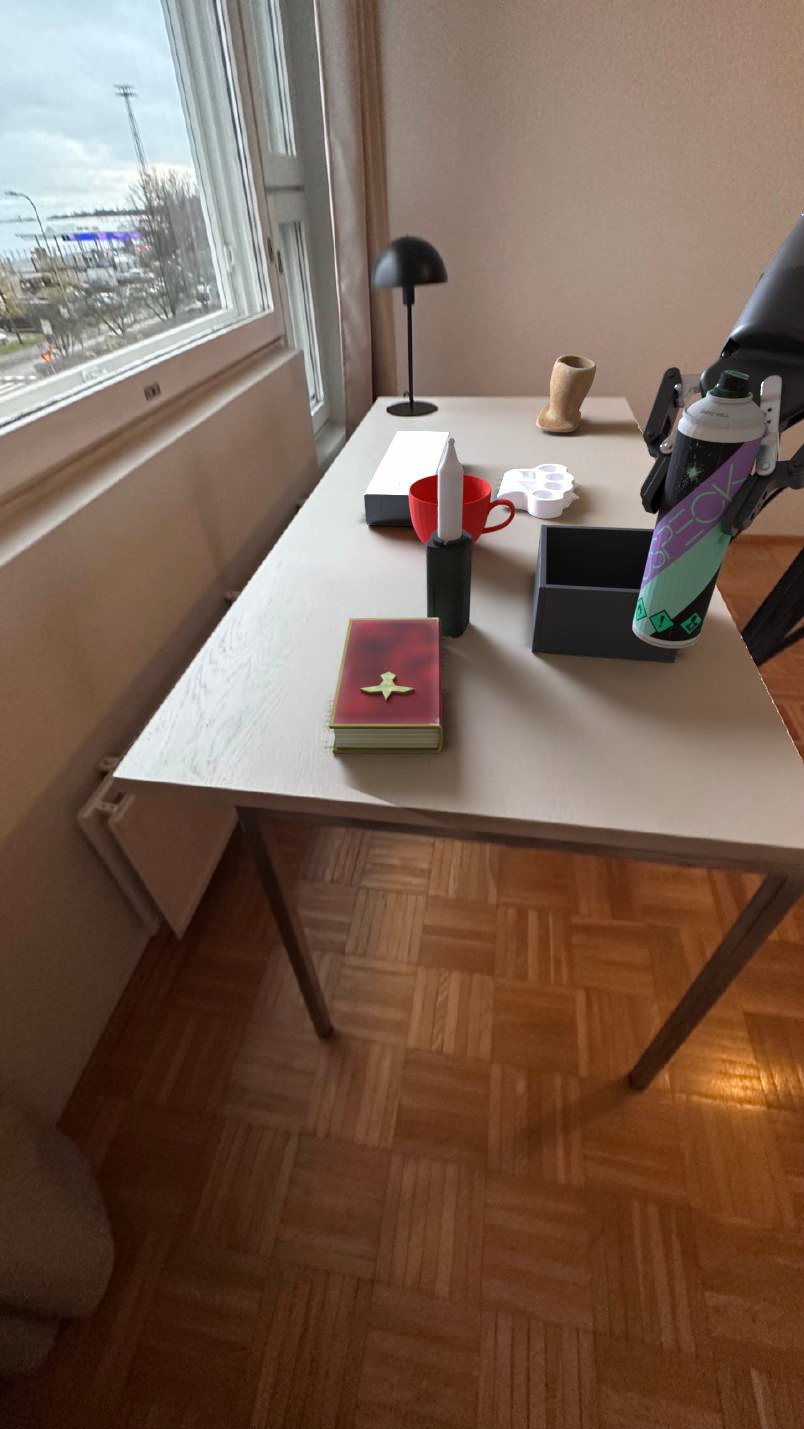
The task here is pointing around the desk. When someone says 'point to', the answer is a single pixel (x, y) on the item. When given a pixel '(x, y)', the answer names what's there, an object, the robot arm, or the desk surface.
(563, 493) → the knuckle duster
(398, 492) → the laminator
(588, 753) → the desk surface
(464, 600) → the candle
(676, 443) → the spray can
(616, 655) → the bin
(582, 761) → the desk surface
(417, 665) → the hardcover book
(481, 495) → the ceramic cup
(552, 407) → the stone cup
